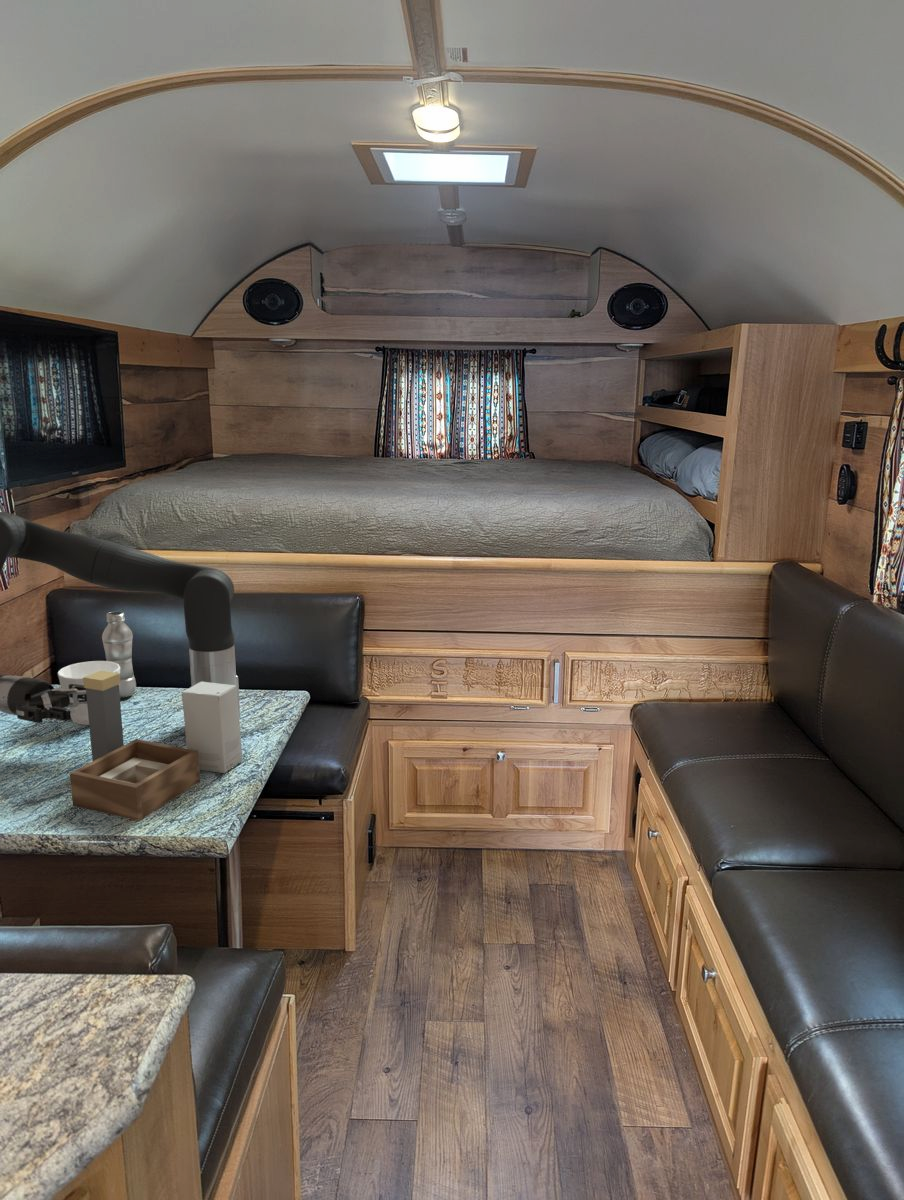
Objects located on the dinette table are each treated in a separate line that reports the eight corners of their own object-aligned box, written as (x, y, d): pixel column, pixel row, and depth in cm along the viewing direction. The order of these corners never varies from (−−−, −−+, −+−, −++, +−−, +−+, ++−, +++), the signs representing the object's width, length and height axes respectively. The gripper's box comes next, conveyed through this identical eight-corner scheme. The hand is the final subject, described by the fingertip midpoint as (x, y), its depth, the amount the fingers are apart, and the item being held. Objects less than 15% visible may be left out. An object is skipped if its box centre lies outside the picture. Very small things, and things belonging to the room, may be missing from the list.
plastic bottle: (105, 693, 197) (98, 611, 192) (136, 690, 200) (130, 609, 195) (106, 702, 191) (99, 618, 187) (138, 699, 194) (131, 615, 189)
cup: (53, 716, 182) (49, 668, 180) (111, 703, 191) (107, 657, 188) (73, 733, 174) (68, 682, 171) (133, 719, 182) (129, 670, 179)
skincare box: (243, 761, 161) (239, 684, 158) (223, 775, 155) (219, 696, 152) (206, 755, 164) (202, 679, 160) (185, 768, 158) (180, 690, 154)
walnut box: (138, 769, 157) (136, 739, 156) (200, 781, 152) (198, 751, 151) (72, 805, 143) (69, 773, 141) (138, 821, 138) (136, 787, 136)
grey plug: (108, 759, 161) (100, 670, 157) (126, 763, 160) (119, 673, 156) (91, 768, 157) (83, 677, 153) (109, 772, 156) (102, 680, 152)
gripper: (-12, 689, 156) (55, 701, 150) (49, 667, 169) (113, 677, 163) (-7, 727, 158) (59, 740, 152) (53, 702, 170) (116, 713, 165)
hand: (87, 707), depth 157 cm, fingers open, 8 cm apart
